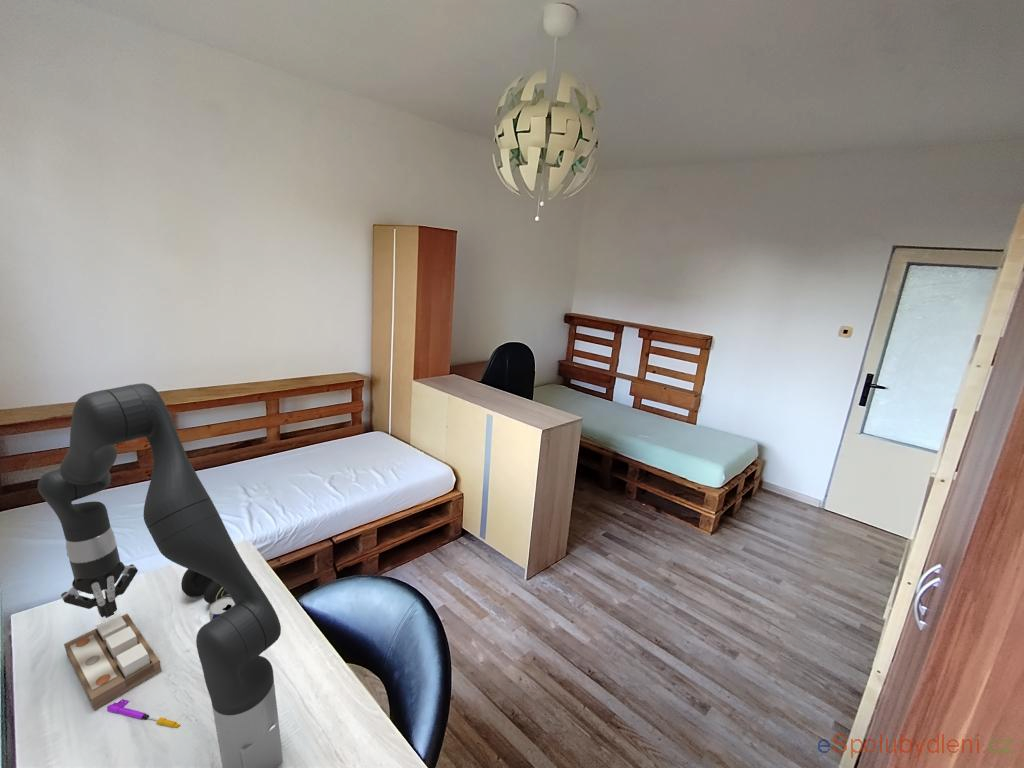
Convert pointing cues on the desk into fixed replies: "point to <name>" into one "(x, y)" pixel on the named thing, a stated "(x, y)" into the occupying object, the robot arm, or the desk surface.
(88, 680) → the button board
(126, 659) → the button
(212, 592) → the headphones
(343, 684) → the desk surface
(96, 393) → the robot arm
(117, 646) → the button middle
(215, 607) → the energy drink
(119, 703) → the purple-handled probe tool
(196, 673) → the desk surface
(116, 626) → the button
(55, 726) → the desk surface
